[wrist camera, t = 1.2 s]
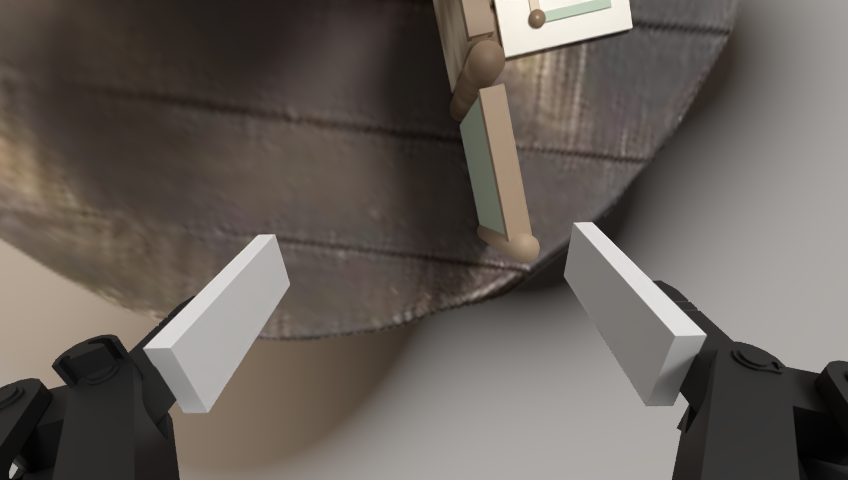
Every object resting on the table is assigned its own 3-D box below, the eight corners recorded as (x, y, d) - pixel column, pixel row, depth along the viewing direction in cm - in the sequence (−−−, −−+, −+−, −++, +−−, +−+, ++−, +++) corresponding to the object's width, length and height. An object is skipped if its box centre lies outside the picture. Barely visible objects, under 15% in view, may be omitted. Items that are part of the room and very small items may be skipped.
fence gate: (454, 127, 36) (478, 87, 23) (474, 122, 36) (509, 80, 23) (478, 242, 37) (513, 266, 24) (497, 238, 37) (541, 259, 25)
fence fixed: (418, -35, 34) (422, -185, 21) (443, -40, 34) (462, -194, 21) (451, 123, 36) (474, 80, 23) (474, 118, 36) (510, 72, 23)
